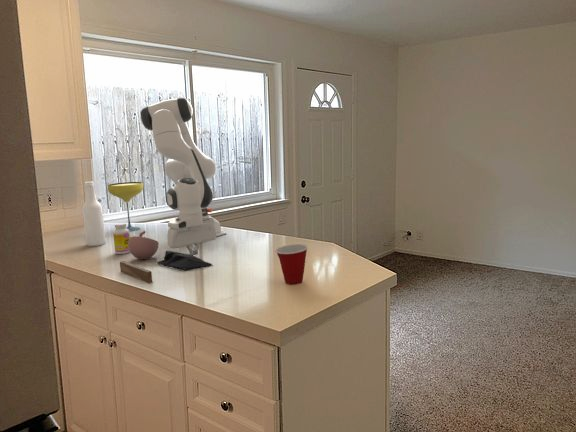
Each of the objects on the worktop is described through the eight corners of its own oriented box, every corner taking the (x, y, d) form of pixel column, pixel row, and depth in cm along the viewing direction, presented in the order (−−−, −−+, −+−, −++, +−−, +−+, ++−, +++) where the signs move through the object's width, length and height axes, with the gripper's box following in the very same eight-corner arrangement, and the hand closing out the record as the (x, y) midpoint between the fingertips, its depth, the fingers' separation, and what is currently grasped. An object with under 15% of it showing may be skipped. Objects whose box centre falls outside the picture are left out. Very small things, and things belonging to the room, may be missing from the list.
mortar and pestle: (165, 255, 207) (162, 228, 205) (148, 263, 196) (145, 235, 194) (141, 254, 211) (138, 228, 209) (123, 261, 200) (120, 234, 198)
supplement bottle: (126, 254, 212) (123, 225, 210) (112, 254, 213) (109, 225, 211) (134, 250, 219) (131, 222, 216) (120, 250, 220) (117, 222, 218)
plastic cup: (275, 278, 168) (274, 244, 166) (307, 276, 169) (305, 242, 167) (277, 288, 158) (276, 252, 156) (311, 286, 159) (310, 250, 157)
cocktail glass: (106, 230, 269) (101, 184, 264) (137, 225, 281) (133, 181, 276) (121, 234, 256) (116, 186, 251) (153, 228, 268) (148, 182, 263)
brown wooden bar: (124, 271, 186) (123, 260, 186) (152, 282, 170) (151, 271, 170) (120, 272, 185) (119, 261, 185) (148, 283, 169) (147, 272, 169)
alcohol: (90, 247, 229) (82, 183, 224) (83, 244, 235) (76, 182, 230) (109, 244, 234) (102, 181, 229) (102, 241, 241) (95, 180, 236)
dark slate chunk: (179, 275, 179) (178, 262, 178) (154, 264, 196) (153, 252, 195) (216, 266, 188) (215, 254, 188) (189, 256, 205) (188, 245, 205)
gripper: (209, 215, 201) (211, 248, 203) (163, 223, 187) (167, 258, 190) (218, 217, 196) (220, 250, 199) (172, 225, 183) (175, 261, 185)
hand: (194, 254), depth 194 cm, fingers closed
